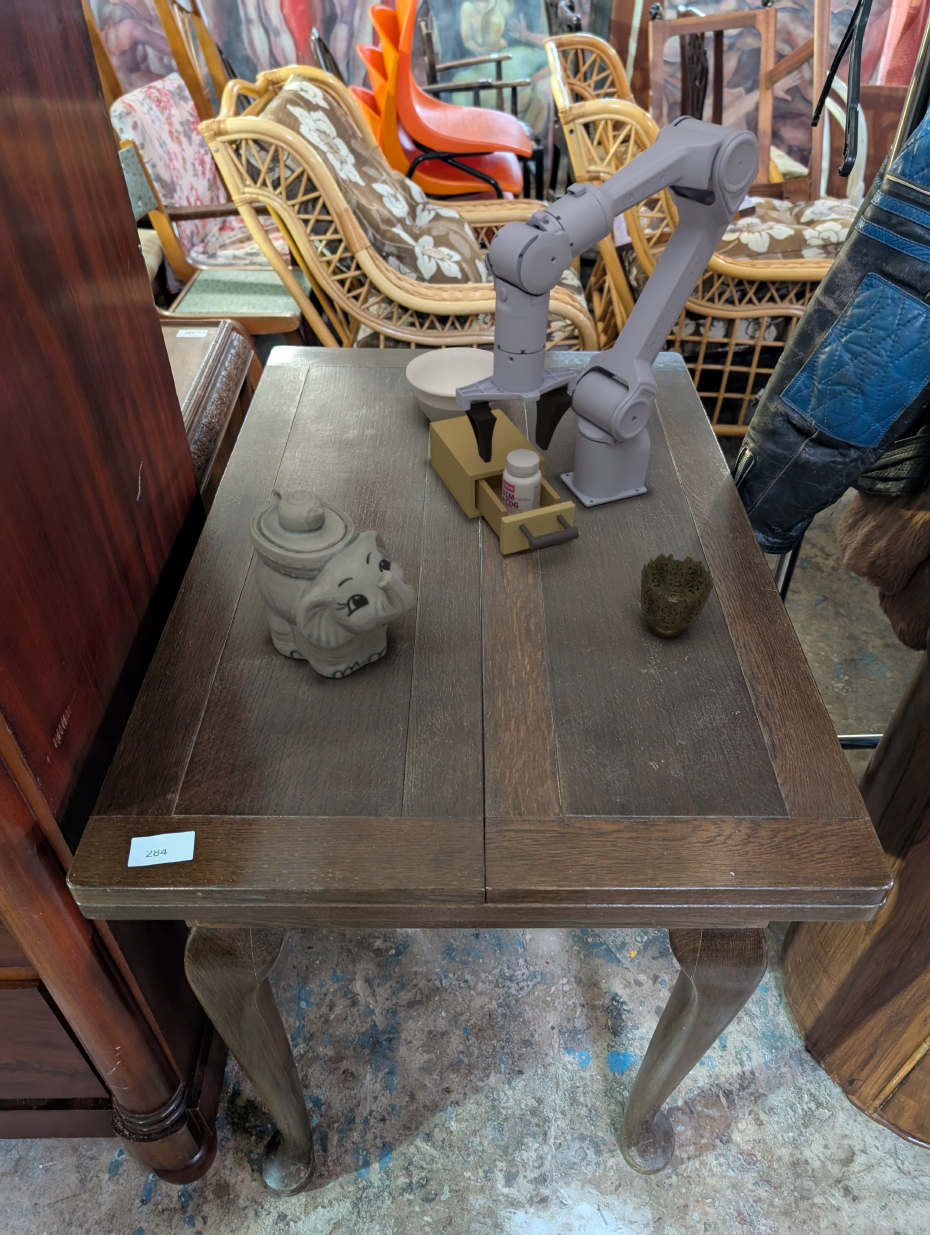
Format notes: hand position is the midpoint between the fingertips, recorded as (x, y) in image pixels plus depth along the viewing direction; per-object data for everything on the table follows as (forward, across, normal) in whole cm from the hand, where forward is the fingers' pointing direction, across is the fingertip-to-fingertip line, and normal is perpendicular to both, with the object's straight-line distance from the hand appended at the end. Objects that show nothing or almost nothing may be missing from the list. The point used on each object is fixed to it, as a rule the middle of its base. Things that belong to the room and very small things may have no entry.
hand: (513, 452), depth 96 cm
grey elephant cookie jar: (+11, -26, -15) cm, 32 cm away
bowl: (+10, +4, +27) cm, 29 cm away
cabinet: (+10, +1, +10) cm, 14 cm away
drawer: (+10, +1, -2) cm, 10 cm away
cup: (+10, +8, -25) cm, 28 cm away
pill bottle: (+9, +1, -2) cm, 9 cm away
